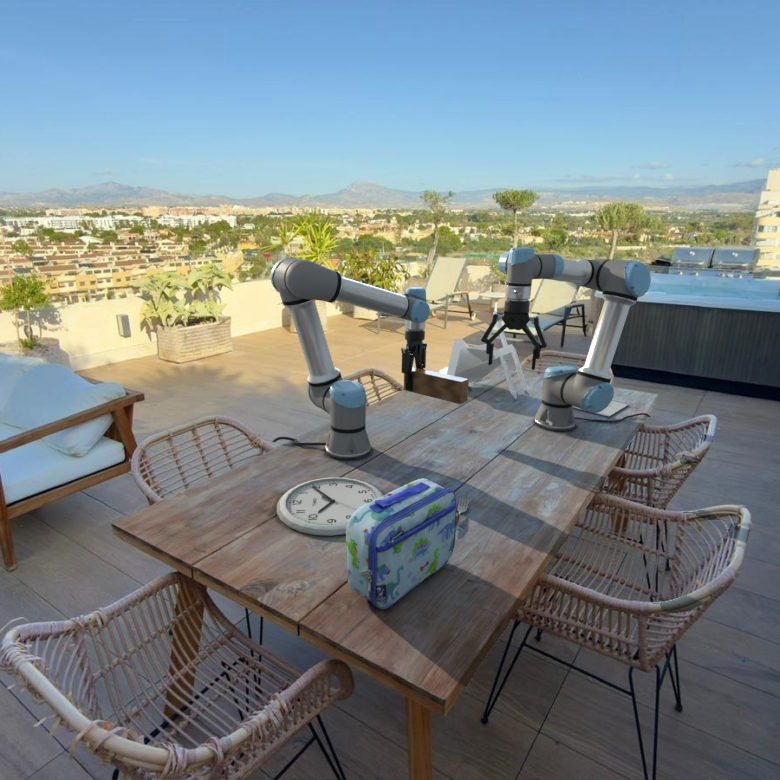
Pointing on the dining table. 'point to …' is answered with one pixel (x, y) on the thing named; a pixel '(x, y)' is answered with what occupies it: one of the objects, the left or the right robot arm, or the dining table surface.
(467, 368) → the white plastic object
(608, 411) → the invitation card
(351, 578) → the lunch box
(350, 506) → the wall clock
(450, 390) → the bar
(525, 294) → the right robot arm
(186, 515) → the dining table surface
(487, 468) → the dining table surface
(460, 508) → the fork
